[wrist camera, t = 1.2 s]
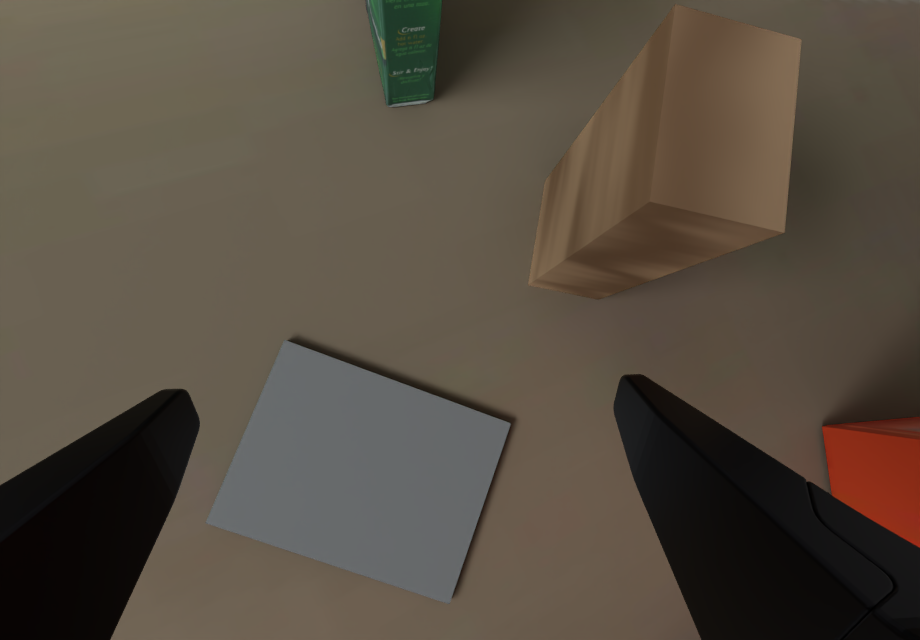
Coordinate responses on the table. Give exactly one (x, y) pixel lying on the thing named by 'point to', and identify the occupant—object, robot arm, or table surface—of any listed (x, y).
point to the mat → (361, 473)
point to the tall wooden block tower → (674, 160)
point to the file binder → (878, 471)
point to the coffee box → (406, 48)
